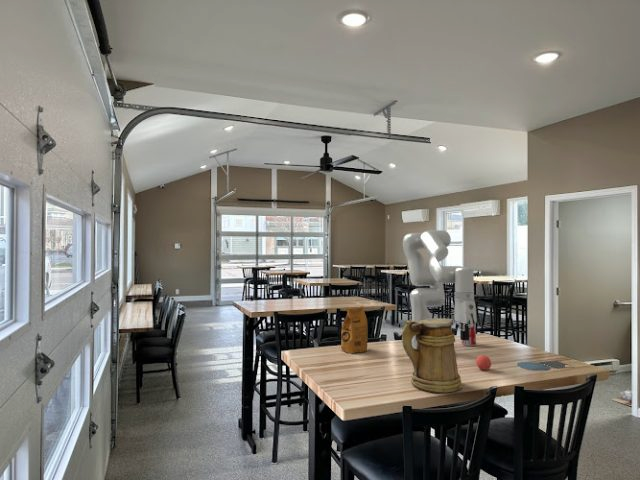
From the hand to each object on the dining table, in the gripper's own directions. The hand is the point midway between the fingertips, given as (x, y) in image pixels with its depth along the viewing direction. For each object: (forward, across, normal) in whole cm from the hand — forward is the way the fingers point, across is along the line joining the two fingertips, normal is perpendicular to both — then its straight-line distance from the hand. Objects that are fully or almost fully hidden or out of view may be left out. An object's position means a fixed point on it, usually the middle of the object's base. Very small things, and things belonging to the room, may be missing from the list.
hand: (464, 339), depth 177 cm
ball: (+10, +1, -10) cm, 14 cm away
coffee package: (+13, +43, +35) cm, 57 cm away
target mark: (+13, +1, -34) cm, 37 cm away
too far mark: (+13, +1, -46) cm, 48 cm away
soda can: (+13, +42, -29) cm, 53 cm away
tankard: (+14, -14, +23) cm, 30 cm away
